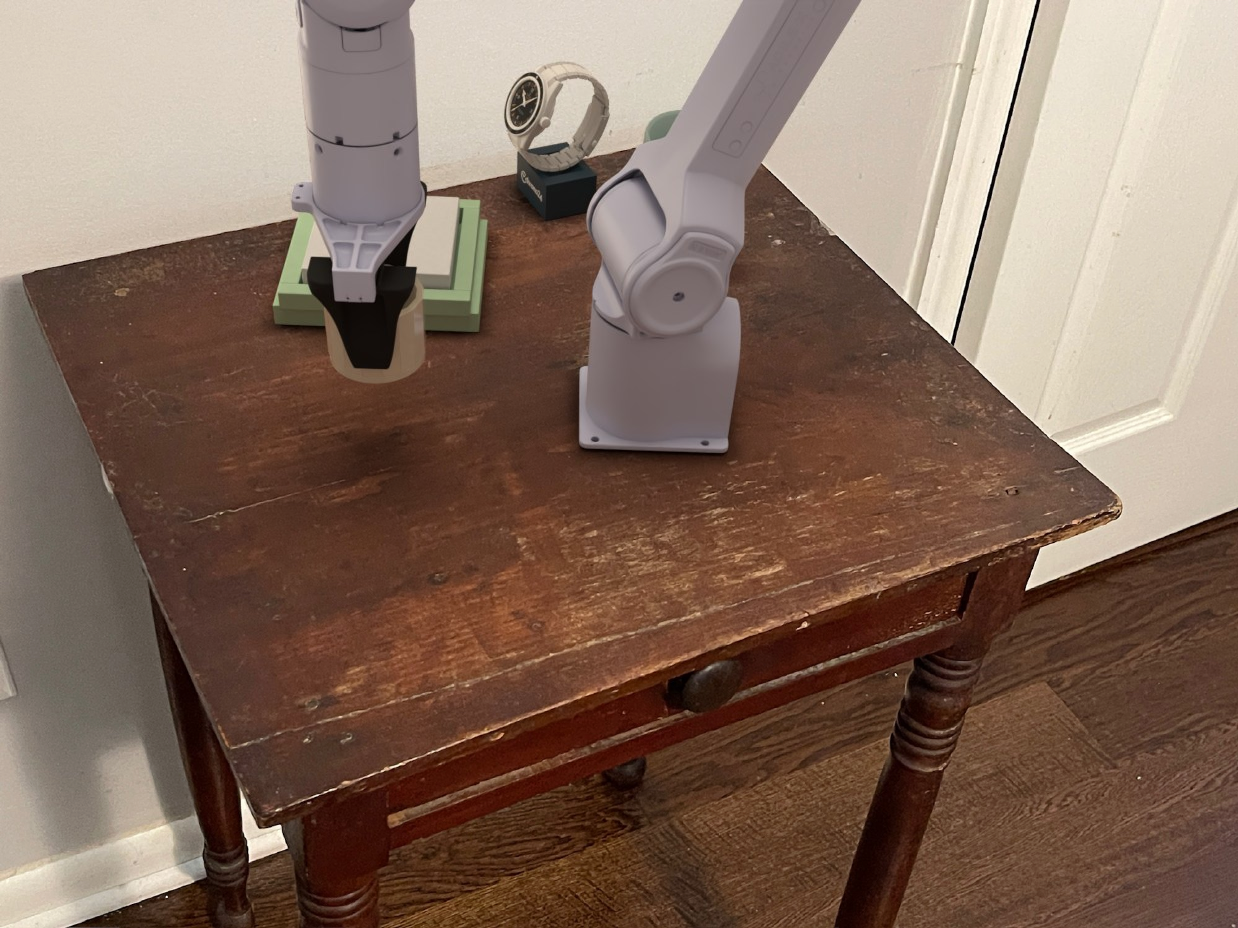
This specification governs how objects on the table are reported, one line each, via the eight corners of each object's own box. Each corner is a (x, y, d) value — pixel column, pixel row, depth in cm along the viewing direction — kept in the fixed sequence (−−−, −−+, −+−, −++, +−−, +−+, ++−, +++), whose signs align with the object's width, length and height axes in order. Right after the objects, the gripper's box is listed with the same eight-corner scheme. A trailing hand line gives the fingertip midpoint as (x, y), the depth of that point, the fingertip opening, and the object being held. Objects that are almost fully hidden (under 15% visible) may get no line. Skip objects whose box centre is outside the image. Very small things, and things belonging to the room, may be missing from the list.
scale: (488, 234, 103) (487, 200, 101) (478, 336, 94) (478, 301, 92) (302, 226, 103) (298, 191, 100) (273, 328, 93) (269, 292, 91)
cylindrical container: (429, 327, 82) (426, 265, 79) (422, 385, 78) (419, 322, 75) (335, 324, 82) (329, 262, 79) (323, 382, 78) (316, 319, 75)
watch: (494, 190, 108) (494, 61, 101) (585, 172, 111) (591, 45, 104) (522, 226, 104) (524, 95, 97) (615, 206, 107) (624, 77, 100)
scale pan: (460, 215, 100) (459, 197, 99) (450, 293, 93) (449, 274, 92) (323, 209, 100) (322, 190, 99) (303, 287, 92) (300, 268, 91)
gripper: (303, 53, 75) (323, 259, 84) (260, 191, 64) (289, 409, 73) (431, 58, 75) (438, 263, 84) (410, 196, 65) (420, 413, 74)
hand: (377, 331), depth 79 cm, fingers closed on cylindrical container, 5 cm apart
